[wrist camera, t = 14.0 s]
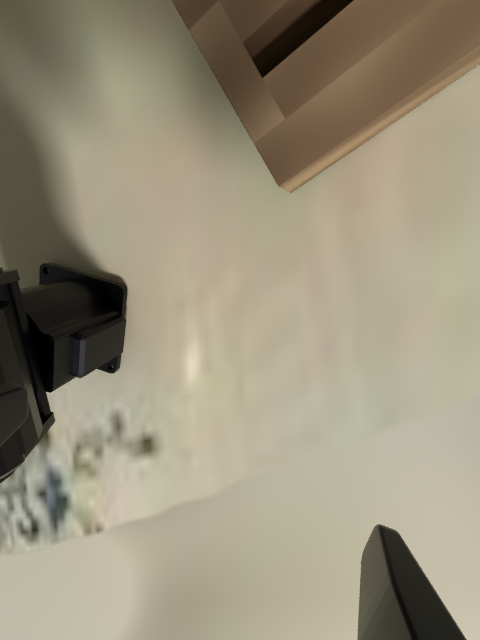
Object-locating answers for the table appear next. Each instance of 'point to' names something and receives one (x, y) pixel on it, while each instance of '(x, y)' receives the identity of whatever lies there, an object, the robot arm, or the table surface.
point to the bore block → (329, 69)
